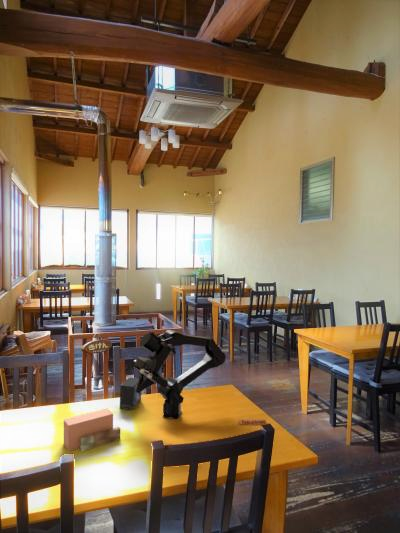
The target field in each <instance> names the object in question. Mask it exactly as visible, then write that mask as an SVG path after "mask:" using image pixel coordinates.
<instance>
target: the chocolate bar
mask: <svg viewBox="0 0 400 533" xmlns="http://www.w3.org/2000/svg"><path fill="white" fill-rule="evenodd" d="M238 424H239V425H238ZM240 424H248V425H267V424H268V421H267V418H237V419H236V426H237V425H238V426H240Z"/></svg>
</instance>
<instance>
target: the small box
mask: <svg viewBox="0 0 400 533" xmlns="http://www.w3.org/2000/svg"><path fill="white" fill-rule="evenodd" d="M138 382H139V377H131V376H130V377H129V376H128V378H127V379H126V380H124V381H123V382H122V383H121V384H120V385H119V409H123V410H131V411H133V410H134V409H135V408H136V407H137V405H139V403H141V401H142V391H141V392H140V393H137V392H136V389H137V385H138Z"/></svg>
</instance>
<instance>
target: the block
mask: <svg viewBox="0 0 400 533" xmlns="http://www.w3.org/2000/svg"><path fill="white" fill-rule="evenodd" d="M113 428H114V414H113V412H112V411H111V410H110V409H108V408H105V409H104V408H103V409H100V410H95V411H92V412H89V413H88V412H87V413H83V414H80V415H77V416H76V415H75V416H72V417H71V416H70V417H68V418H65V419H63V445H64V446H65V448H66V450H67V451H68V452H70V451H73V450H76V449H77V450H78V449H80V438H82V437H85V436H89V435H92V434H96V433H99V432H102V431H106V430H109V429H113Z"/></svg>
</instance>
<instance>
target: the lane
mask: <svg viewBox="0 0 400 533" xmlns="http://www.w3.org/2000/svg"><path fill="white" fill-rule="evenodd" d="M118 440H119V441H120V440H121V428H120V427H119V426H116V427H113V429H109V430H106V431H102V432H99V433H96V434H92V435H89V436H85V437H82V438H80V448H79V449H80V450H81V452H84V451H87V450H90V449H94V448H97V447H100V446H102V445H105V444H109V443H112V442H116V441H118Z"/></svg>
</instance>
